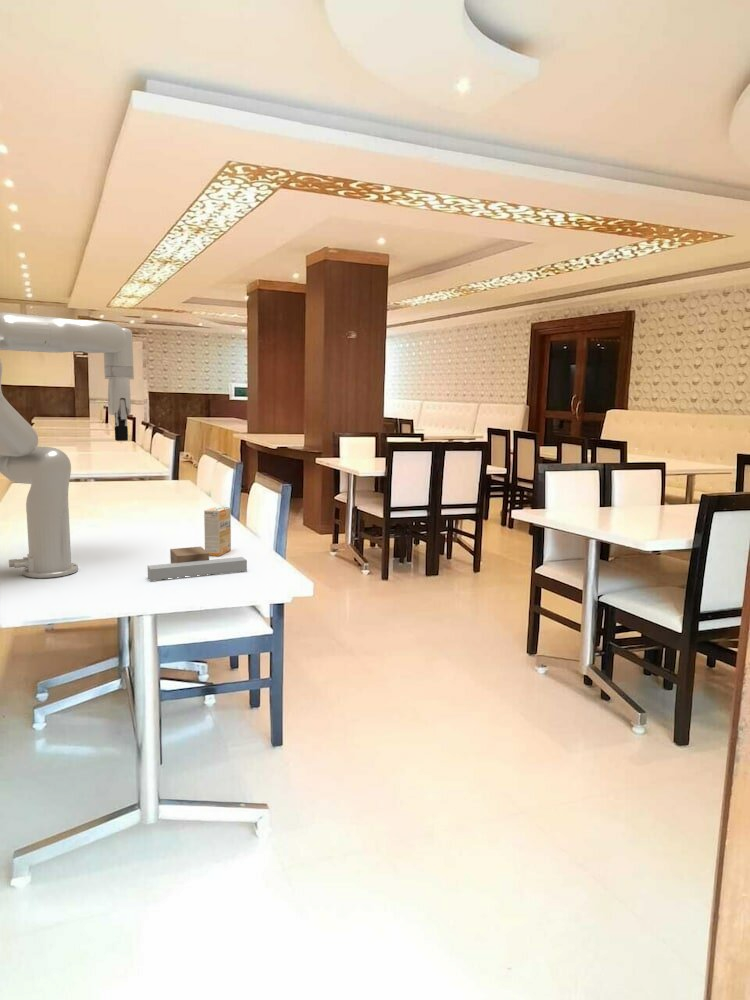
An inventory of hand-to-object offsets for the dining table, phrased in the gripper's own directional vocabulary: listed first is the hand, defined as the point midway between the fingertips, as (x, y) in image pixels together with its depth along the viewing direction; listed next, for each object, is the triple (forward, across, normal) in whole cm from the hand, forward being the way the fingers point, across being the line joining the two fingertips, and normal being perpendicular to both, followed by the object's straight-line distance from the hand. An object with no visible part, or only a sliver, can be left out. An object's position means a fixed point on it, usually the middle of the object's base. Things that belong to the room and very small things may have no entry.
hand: (121, 440), depth 191 cm
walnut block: (+32, +25, +12) cm, 43 cm away
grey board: (+32, +32, +13) cm, 47 cm away
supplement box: (+32, +10, +24) cm, 41 cm away
